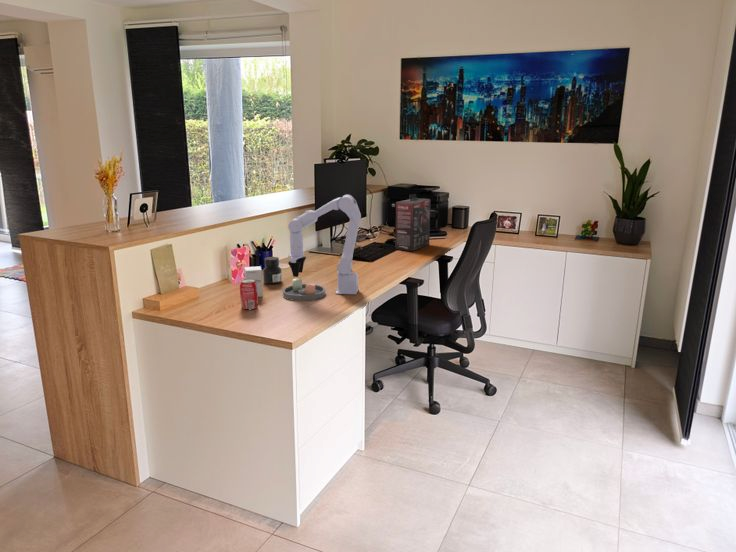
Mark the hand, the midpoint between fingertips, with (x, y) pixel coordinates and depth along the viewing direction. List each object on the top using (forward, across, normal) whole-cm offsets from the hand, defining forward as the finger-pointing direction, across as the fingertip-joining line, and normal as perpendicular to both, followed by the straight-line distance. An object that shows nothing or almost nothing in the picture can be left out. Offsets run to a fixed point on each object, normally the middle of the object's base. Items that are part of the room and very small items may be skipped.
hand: (297, 274), depth 254 cm
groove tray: (+8, +5, +4) cm, 10 cm away
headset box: (+8, -103, +48) cm, 114 cm away
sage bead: (+7, +1, 0) cm, 7 cm away
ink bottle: (+8, -13, -16) cm, 22 cm away
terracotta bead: (+7, +9, +8) cm, 14 cm away
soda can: (+8, +27, -14) cm, 31 cm away
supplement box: (+8, +9, -18) cm, 22 cm away
